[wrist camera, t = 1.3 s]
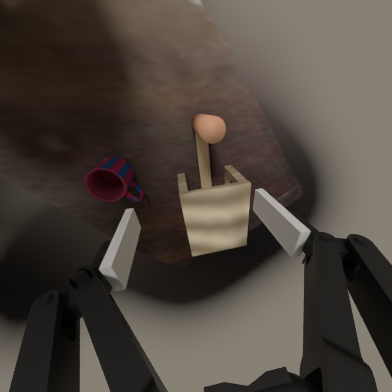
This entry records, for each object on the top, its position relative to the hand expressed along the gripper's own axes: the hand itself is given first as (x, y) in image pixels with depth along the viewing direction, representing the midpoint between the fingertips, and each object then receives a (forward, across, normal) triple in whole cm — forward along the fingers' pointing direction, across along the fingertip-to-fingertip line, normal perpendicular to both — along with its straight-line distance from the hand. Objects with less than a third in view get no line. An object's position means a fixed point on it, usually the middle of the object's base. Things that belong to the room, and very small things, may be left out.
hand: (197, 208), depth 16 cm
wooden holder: (+19, +5, -11) cm, 22 cm away
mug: (+19, -14, -2) cm, 24 cm away
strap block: (+19, +4, -4) cm, 20 cm away
